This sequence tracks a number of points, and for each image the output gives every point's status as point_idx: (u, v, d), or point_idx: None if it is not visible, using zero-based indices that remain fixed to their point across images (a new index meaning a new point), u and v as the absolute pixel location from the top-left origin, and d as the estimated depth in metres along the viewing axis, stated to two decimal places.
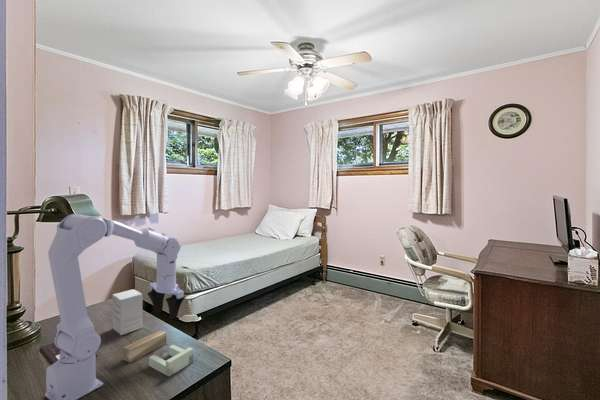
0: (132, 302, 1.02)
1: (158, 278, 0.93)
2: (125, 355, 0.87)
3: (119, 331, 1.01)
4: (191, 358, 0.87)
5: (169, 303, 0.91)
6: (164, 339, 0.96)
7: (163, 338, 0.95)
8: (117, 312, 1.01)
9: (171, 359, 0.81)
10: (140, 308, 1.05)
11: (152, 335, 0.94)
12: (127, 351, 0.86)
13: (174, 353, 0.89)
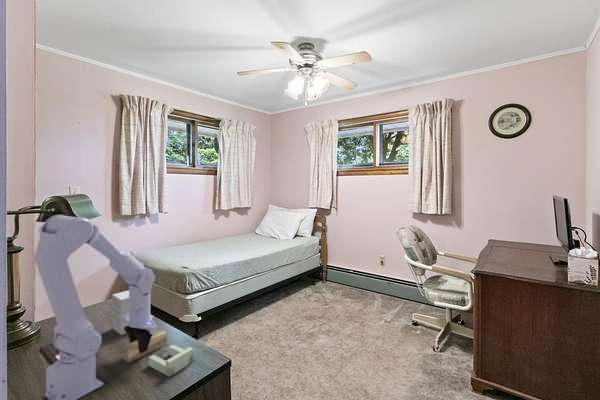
0: None
1: (130, 312, 0.87)
2: (125, 354, 0.87)
3: (119, 331, 1.01)
4: (191, 358, 0.87)
5: (138, 337, 0.86)
6: (165, 339, 0.95)
7: (163, 337, 0.95)
8: (117, 312, 1.01)
9: (171, 359, 0.81)
10: None
11: (153, 334, 0.94)
12: (126, 350, 0.86)
13: (174, 353, 0.89)
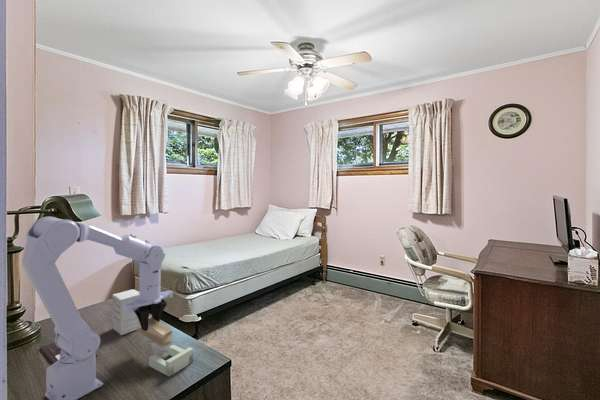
0: None
1: None
2: None
3: (119, 331, 1.01)
4: (191, 358, 0.87)
5: None
6: (160, 340, 0.86)
7: (160, 337, 0.86)
8: (117, 312, 1.01)
9: (171, 359, 0.81)
10: None
11: (161, 327, 0.88)
12: None
13: (174, 353, 0.89)
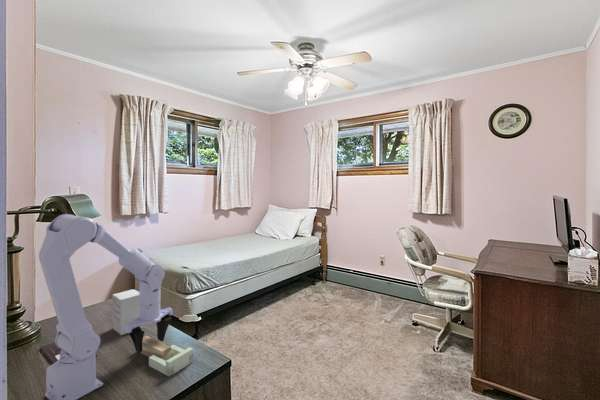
0: (132, 303, 1.02)
1: None
2: None
3: (119, 331, 1.01)
4: (191, 358, 0.87)
5: None
6: (160, 357, 0.86)
7: (159, 355, 0.86)
8: (117, 312, 1.01)
9: (171, 359, 0.81)
10: None
11: (160, 344, 0.89)
12: None
13: (174, 353, 0.89)
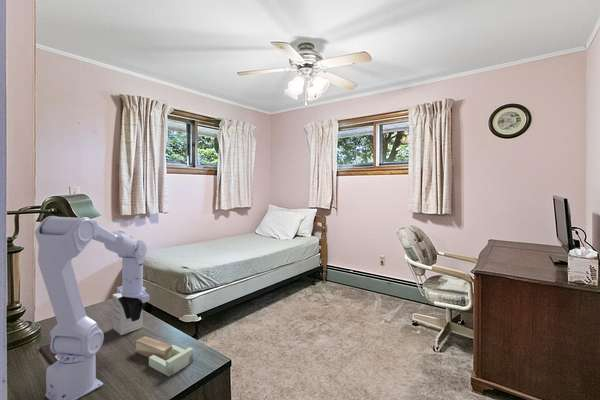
0: None
1: (123, 282, 0.92)
2: None
3: (119, 331, 1.01)
4: (191, 358, 0.87)
5: (130, 305, 0.91)
6: (162, 357, 0.86)
7: (161, 354, 0.86)
8: (117, 312, 1.01)
9: (171, 359, 0.81)
10: None
11: (161, 344, 0.89)
12: None
13: (174, 353, 0.89)
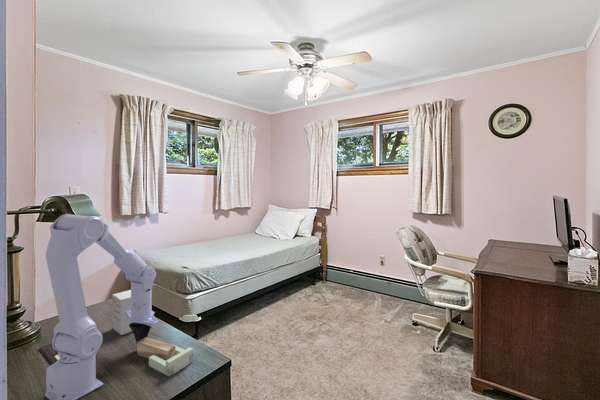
0: None
1: (132, 307, 0.90)
2: None
3: (119, 331, 1.01)
4: (191, 358, 0.87)
5: (136, 330, 0.90)
6: (165, 357, 0.86)
7: (164, 354, 0.86)
8: (117, 312, 1.01)
9: (171, 359, 0.81)
10: None
11: (163, 344, 0.89)
12: None
13: None
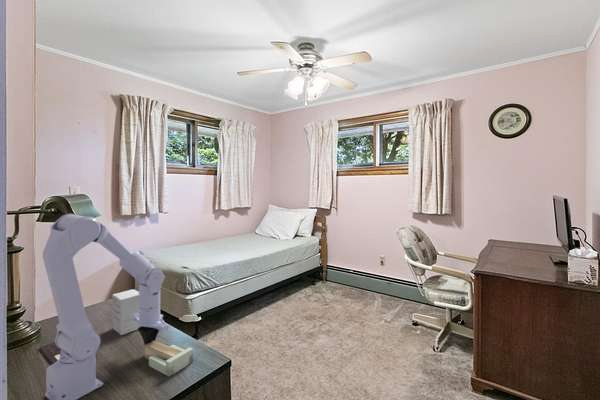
0: (132, 302, 1.02)
1: (141, 311, 0.88)
2: None
3: (119, 331, 1.01)
4: (191, 358, 0.87)
5: (144, 334, 0.88)
6: None
7: None
8: (117, 312, 1.01)
9: (171, 359, 0.81)
10: None
11: (170, 349, 0.86)
12: None
13: None
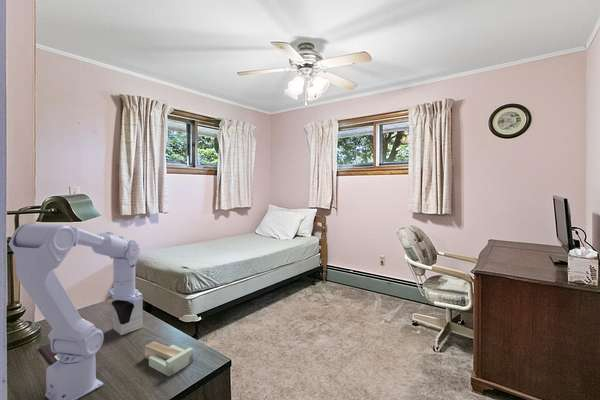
0: None
1: (114, 284, 0.87)
2: None
3: (119, 331, 1.01)
4: (191, 358, 0.87)
5: (119, 308, 0.87)
6: None
7: None
8: None
9: (171, 359, 0.81)
10: (140, 308, 1.05)
11: (170, 350, 0.86)
12: None
13: None
